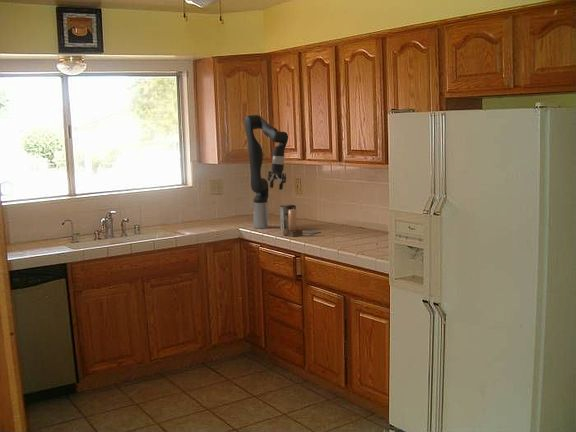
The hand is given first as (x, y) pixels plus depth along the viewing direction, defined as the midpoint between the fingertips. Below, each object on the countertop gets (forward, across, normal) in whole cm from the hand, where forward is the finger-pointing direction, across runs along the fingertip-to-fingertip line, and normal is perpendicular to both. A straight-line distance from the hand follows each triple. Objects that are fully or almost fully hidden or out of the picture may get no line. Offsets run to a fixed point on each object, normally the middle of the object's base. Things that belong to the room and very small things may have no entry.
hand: (276, 188), depth 431 cm
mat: (+26, +20, +14) cm, 36 cm away
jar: (+27, +18, +1) cm, 32 cm away
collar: (+27, +18, +1) cm, 32 cm away
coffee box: (+28, -1, +15) cm, 31 cm away
